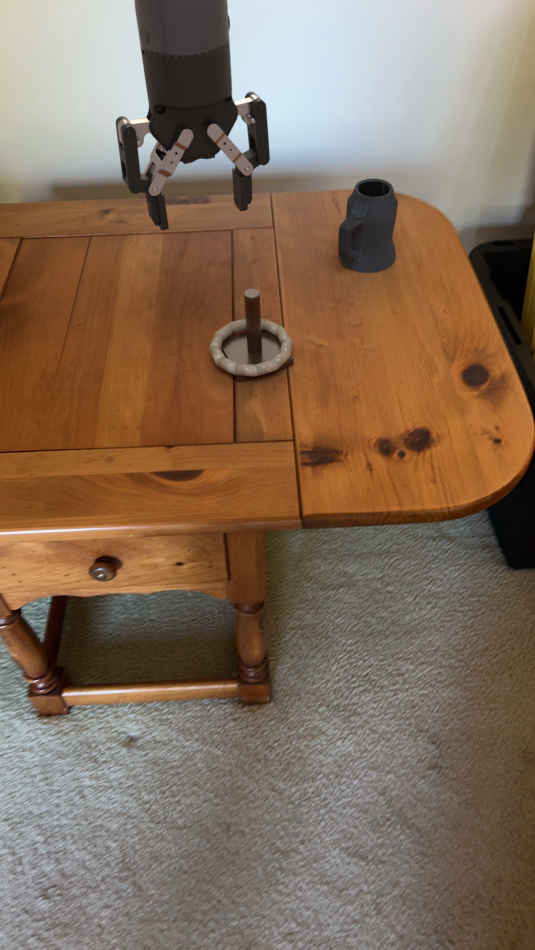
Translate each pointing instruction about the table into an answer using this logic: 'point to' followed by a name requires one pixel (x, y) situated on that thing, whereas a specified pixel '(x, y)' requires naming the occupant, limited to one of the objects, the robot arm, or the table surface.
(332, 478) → the table surface
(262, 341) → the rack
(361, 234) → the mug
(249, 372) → the ring
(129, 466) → the table surface
